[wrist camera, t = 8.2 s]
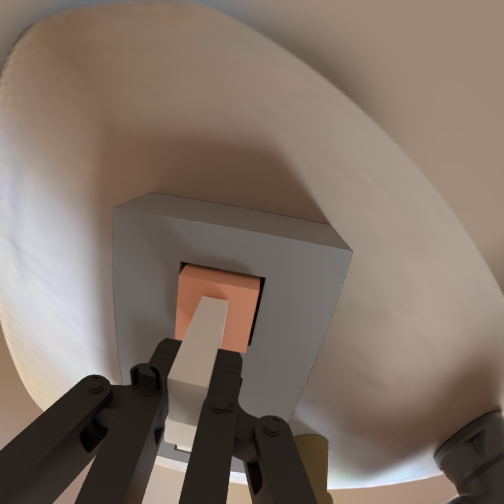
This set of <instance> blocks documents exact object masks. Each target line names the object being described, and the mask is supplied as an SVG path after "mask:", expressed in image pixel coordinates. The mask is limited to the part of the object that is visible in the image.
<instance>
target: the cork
mask: <svg viewBox="0 0 504 504" xmlns="http://www.w3.org/2000/svg"><path fill="white" fill-rule="evenodd" d="M293 438H294V440H295V443H296V446H297V449H298V451H299V454H300V457H301V460H302V462H303V465H304V468H305V471H306V473H307V476H308V479H309V481H310V484H311V487H312V489H313V492H314V495H315V497H316V500H317V502H318V504H333V499H332V497H331V495H330V494H329V493H328V492H327V474H328V440H327V439H326V438H325V437H323V436H320V435H313V434H307V435H300V436H296V437H293Z"/></svg>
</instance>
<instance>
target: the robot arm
mask: <svg viewBox="0 0 504 504" xmlns="http://www.w3.org/2000/svg"><path fill="white" fill-rule="evenodd" d="M228 305H229V301H227V300H221V299H216V298H211V297H206V296H202V297H201V300H200V302H199V304H198V306H197V309H196V311H195V313H194V316H193V318H192V320H191V323H190V325H189V327H188V330H187V332H186V334H185V337H184V339H183V341H179V340H175V339H171V338H167V337H166V338H165V339H163V340H162V341H161V342H159V343H158V345H157V347H156V349H155V351H154V353H153V355H152V357H151V359H150V361H149V363H140V364H137V365H135V366H133V367H132V368H131V369H130V377H131V384H130V385H111V384H110V382H109V380H107V379H106V378H105V377H103V376H101V375H89V376H87V377H85V378H83V379H82V380H81V381H80V382H78V383H77V384H76V385H75V386H74V387H73V388H71V389H70V390H69V391H68V392H67V393H66V394H64V395H63V396H62V397H61V398H60V399H59V400H57V401H56V402H55V403H54V404H53V405H52V406H51V407H49V408H48V409H47V410H46V411H45V412H44V413H43V414H41V415H40V416H39V417H38V418H37V419H36V420H34V421H33V422H32V423H31V424H30V425H29V426H28V427H26V428H25V429H24V430H23V431H22V432H21V433H20V434H19V435H17V436H16V437H15V438H14V439H13V440H12V441H11V442H10V443H8V444H7V445H6V446H5V447H4V448H3V449H2V450H0V504H53V502H54V501H55V500H56V499H57V498H58V497H59V496H60V495H61V493H63V491H64V490H65V489H66V488H67V487H68V486H69V485H70V484H71V483H72V481H73V480H74V479H75V478H76V477H77V476H78V475H79V474H80V473H81V472H82V470H83V469H84V468H85V467H86V466H87V465H88V464H89V462H90V461H91V460H92V459H93V458H94V457H95V456H96V457H95V459H94V461H93V463H92V466H91V468H90V470H89V472H88V474H87V476H86V479H85V481H84V483H83V485H82V488H81V490H80V492H79V494H78V497H77V499H76V501H75V504H142V500H143V497H144V494H145V490H146V487H147V484H148V481H149V478H150V475H151V472H152V469H153V465H154V462H155V459H156V456H157V453H158V450H159V447H160V444H161V441H162V438H163V435H164V432H165V421H166V418H167V416H168V420H171V421H175V422H179V423H183V424H187V425H192V426H196V427H197V429H196V433H195V437H194V441H193V446H192V450H191V454H190V458H189V462H188V466H187V470H186V474H185V479H184V483H183V487H182V491H181V496H180V500H179V504H226V500H227V493H228V485H229V477H230V469H231V461H232V456H233V457H235V458H237V459H240V460H242V461H243V464H244V468H245V473H246V478H247V482H248V486H249V491H250V495H251V499H252V503H253V504H318V502H317V500H316V497H315V495H314V492H313V489H312V487H311V484H310V481H309V479H308V476H307V473H306V471H305V468H304V465H303V462H302V460H301V457H300V454H299V451H298V449H297V446H296V443H295V440H294V438H293V435H292V432H291V429H290V427H289V425H288V423H287V422H286V421H285V420H283V419H282V418H280V417H278V416H274V415H266V416H262V417H261V418H257V417H255V416H252V415H250V414H248V413H246V412H245V411H244V410H243V409H242V408H241V407H240V405H239V402H238V396H239V388H240V380H241V372H242V363H243V359H242V357H241V355H240V353H239V352H235V351H230V350H225V349H221V345H222V341H223V335H224V329H225V323H226V317H227V311H228ZM435 461H436V464H437V467H438V468H439V470H440V471H443V473H444V474H445V475H446V476H447V478H448V479H449V480H450V481H451V482H452V483H453V484H454V485H455V487H456V489H457V492H458V495H459V496H458V497H456V498H455V499H453V500H451V501H449V502H447V503H445V504H504V417H503V416H502V414H501V413H500V412H499V411H494V412H490V413H488V414H486V415H484V416H482V417H480V418H478V419H476V420H475V421H473V422H472V423H470V424H469V425H467V426H466V427H464V428H463V429H462V430H460V431H459V432H458V433H457V434H455V435H454V436H453V437H452V438H451V439H450V440H448V441H447V442H446V443H445V444H444V445H443V446H442V447H441V449H440V450H439V451H438V452H437V454H436V456H435Z"/></svg>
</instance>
